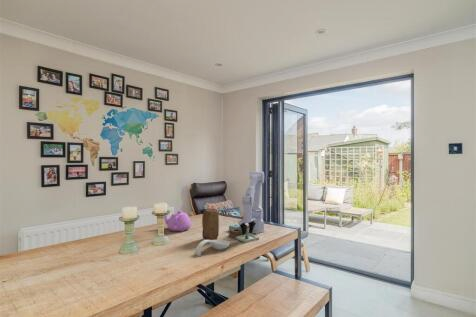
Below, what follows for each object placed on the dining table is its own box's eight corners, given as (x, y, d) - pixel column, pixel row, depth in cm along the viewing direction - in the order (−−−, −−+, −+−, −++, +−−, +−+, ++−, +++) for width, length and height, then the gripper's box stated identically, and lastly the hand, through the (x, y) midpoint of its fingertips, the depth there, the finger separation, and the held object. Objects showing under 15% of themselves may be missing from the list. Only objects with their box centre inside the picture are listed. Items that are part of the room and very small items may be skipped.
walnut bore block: (237, 233, 189) (237, 228, 189) (243, 236, 183) (244, 230, 183) (229, 235, 185) (229, 229, 185) (235, 238, 179) (235, 232, 179)
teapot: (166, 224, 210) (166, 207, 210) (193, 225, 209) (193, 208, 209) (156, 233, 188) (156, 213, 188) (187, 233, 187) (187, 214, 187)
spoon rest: (220, 243, 169) (220, 232, 168) (234, 248, 161) (234, 236, 161) (190, 253, 151) (190, 240, 151) (204, 259, 143) (204, 245, 143)
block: (219, 241, 173) (220, 210, 172) (210, 243, 167) (211, 211, 167) (209, 237, 180) (209, 207, 180) (200, 239, 175) (200, 209, 175)
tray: (250, 235, 185) (250, 233, 185) (258, 239, 178) (258, 237, 178) (235, 238, 178) (235, 236, 178) (244, 242, 170) (244, 240, 170)
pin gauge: (246, 237, 180) (246, 225, 180) (249, 238, 178) (249, 226, 178) (244, 238, 178) (244, 226, 178) (247, 239, 176) (247, 227, 176)
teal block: (235, 229, 201) (235, 223, 201) (242, 231, 196) (242, 225, 196) (228, 230, 196) (229, 225, 196) (235, 233, 191) (235, 227, 191)
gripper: (251, 210, 185) (251, 230, 185) (235, 213, 176) (235, 234, 176) (258, 212, 180) (258, 232, 180) (242, 215, 170) (242, 236, 171)
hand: (247, 233), depth 178 cm, fingers open, 5 cm apart
